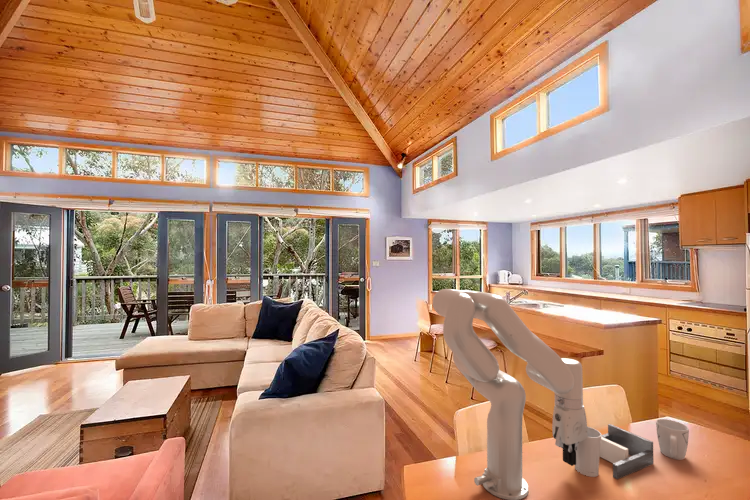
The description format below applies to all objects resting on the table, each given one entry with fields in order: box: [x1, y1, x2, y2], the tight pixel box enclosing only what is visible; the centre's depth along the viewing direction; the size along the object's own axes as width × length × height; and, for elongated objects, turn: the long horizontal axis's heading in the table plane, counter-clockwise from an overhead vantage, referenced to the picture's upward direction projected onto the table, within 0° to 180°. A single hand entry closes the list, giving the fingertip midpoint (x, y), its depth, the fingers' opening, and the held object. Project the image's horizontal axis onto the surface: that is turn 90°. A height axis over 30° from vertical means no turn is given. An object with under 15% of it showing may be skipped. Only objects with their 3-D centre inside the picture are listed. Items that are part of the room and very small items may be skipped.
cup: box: [574, 425, 602, 478], centre depth 108 cm, size 8×8×12 cm
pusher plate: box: [599, 437, 629, 464], centre depth 113 cm, size 2×10×6 cm, turn 25°
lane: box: [601, 423, 655, 480], centre depth 114 cm, size 19×13×7 cm
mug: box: [655, 418, 690, 460], centre depth 116 cm, size 11×8×10 cm
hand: (569, 462), depth 105 cm, fingers closed
